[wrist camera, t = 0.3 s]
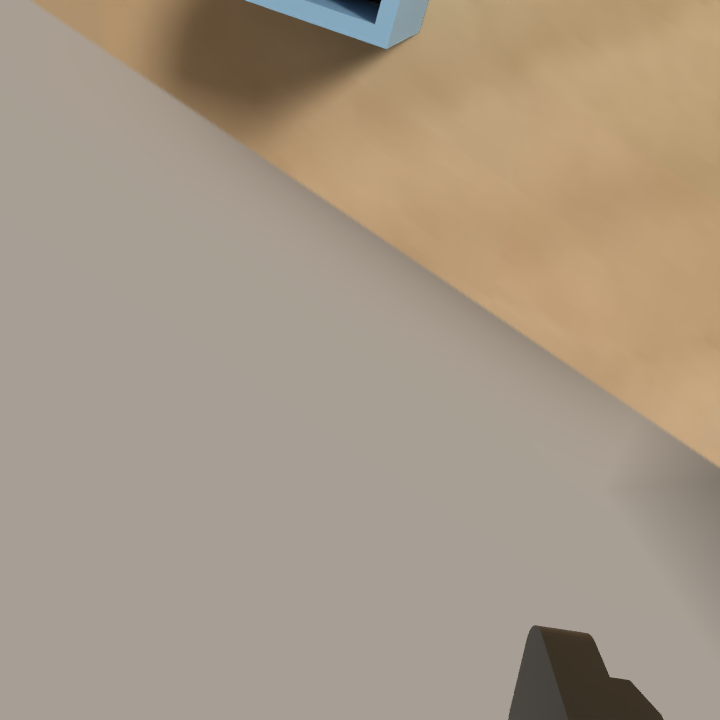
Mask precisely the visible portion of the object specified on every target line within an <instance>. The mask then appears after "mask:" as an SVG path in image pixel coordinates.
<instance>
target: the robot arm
mask: <svg viewBox="0 0 720 720" xmlns="http://www.w3.org/2000/svg"><path fill="white" fill-rule="evenodd" d="M508 720H663V718H662V716H661V714H660V713H659V712H658V711H657V710H656V709H655V708H654V706H653V705H652V704H651V703H650V702H649V701H648V700H647V699H646V698H645V697H644V696H643V694H641V692H640V691H639V690H638V689H637V688H636V687H635V686H634V685H633V683H632V682H631V681H629V680H624V679H618V678H611V677H609V674H608V672H607V670H606V667H605V665H604V663H603V660H602V658H601V655H600V653H599V651H598V648H597V646H596V643H595V641H594V640H593V638H592V636H591V635H589V634H587V633H582V632H576V631H568V630H562V629H556V628H549V627H543V626H536V625H535V626H533V627H532V628H531V630H530V631H529V634H528V637H527V641H526V645H525V649H524V654H523V658H522V662H521V666H520V670H519V674H518V679H517V683H516V687H515V691H514V696H513V700H512V704H511V708H510V713H509V719H508Z"/></svg>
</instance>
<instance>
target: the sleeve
mask: <svg viewBox="0 0 720 720" xmlns="http://www.w3.org/2000/svg"><path fill="white" fill-rule="evenodd" d="M245 1H248V2H251V3H254V4H257V5H260V6H263V7H266V8H269V9H271V10H274V11H277V12H280V13H283V14H286V15H289V16H292V17H295V18H298V19H300V20H303V21H306V22H309V23H312V24H315V25H318V26H321V27H324V28H327V29H329V30H332V31H335V32H338V33H341V34H344V35H347V36H350V37H353V38H355V39H358V40H361V41H364V42H367V43H370V44H373V45H376V46H379V47H382V48H384V49H388V48H390V47H392V46H394V45H396V44H397V43H399V42H401V41H403V40H405V39H407V38H409V37H411V36H413V35H415V34H417V33H419V31H420V28H421V25H422V21H423V18H424V15H425V11H426V8H427V5H428V1H429V0H381V3H380V4H377V3H374V2H372V1H369V0H245Z"/></svg>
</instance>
